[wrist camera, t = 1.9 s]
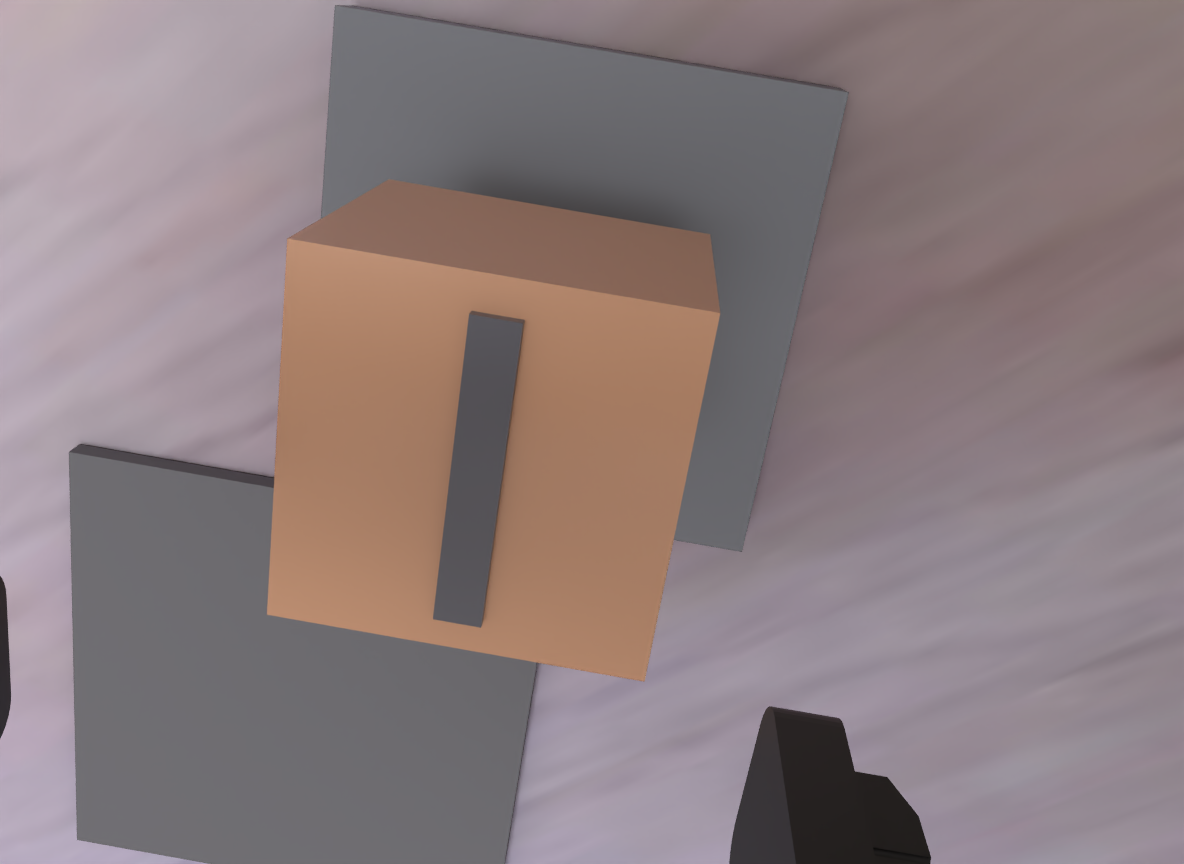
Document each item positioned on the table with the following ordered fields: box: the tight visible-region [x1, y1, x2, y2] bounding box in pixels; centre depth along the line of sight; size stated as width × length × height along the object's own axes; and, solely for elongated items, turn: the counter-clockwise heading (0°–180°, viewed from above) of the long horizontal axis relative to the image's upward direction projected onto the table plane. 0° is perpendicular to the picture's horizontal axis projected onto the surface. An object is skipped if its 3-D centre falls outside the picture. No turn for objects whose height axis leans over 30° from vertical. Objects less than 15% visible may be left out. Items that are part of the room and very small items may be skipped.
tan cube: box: [267, 179, 720, 681], centre depth 20 cm, size 6×6×6 cm
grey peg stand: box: [321, 5, 849, 552], centre depth 23 cm, size 12×12×12 cm
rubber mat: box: [69, 444, 537, 864], centre depth 34 cm, size 14×14×1 cm
